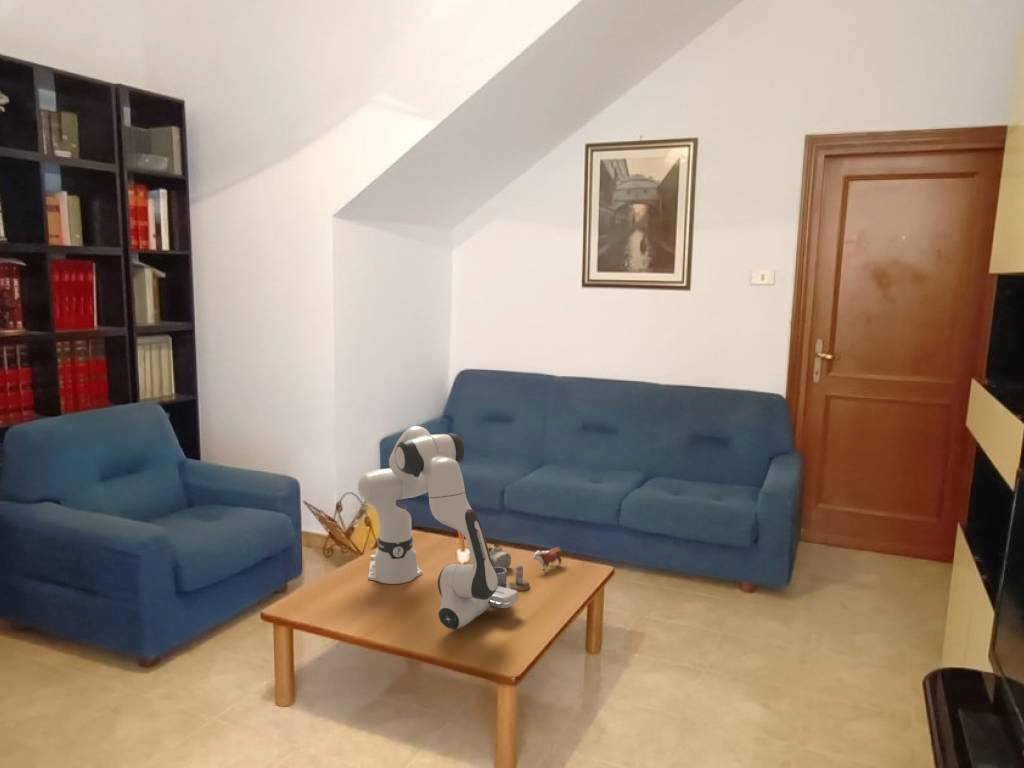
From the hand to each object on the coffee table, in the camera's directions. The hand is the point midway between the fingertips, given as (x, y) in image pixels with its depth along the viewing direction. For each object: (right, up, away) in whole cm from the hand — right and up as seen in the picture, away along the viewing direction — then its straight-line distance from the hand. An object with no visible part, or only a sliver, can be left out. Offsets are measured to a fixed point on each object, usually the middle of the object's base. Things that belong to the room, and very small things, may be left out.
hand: (498, 583), depth 250 cm
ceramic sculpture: (-2, -2, +31) cm, 31 cm away
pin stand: (+7, -4, +13) cm, 15 cm away
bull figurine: (+17, -3, +29) cm, 34 cm away
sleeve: (-1, -6, 0) cm, 6 cm away
